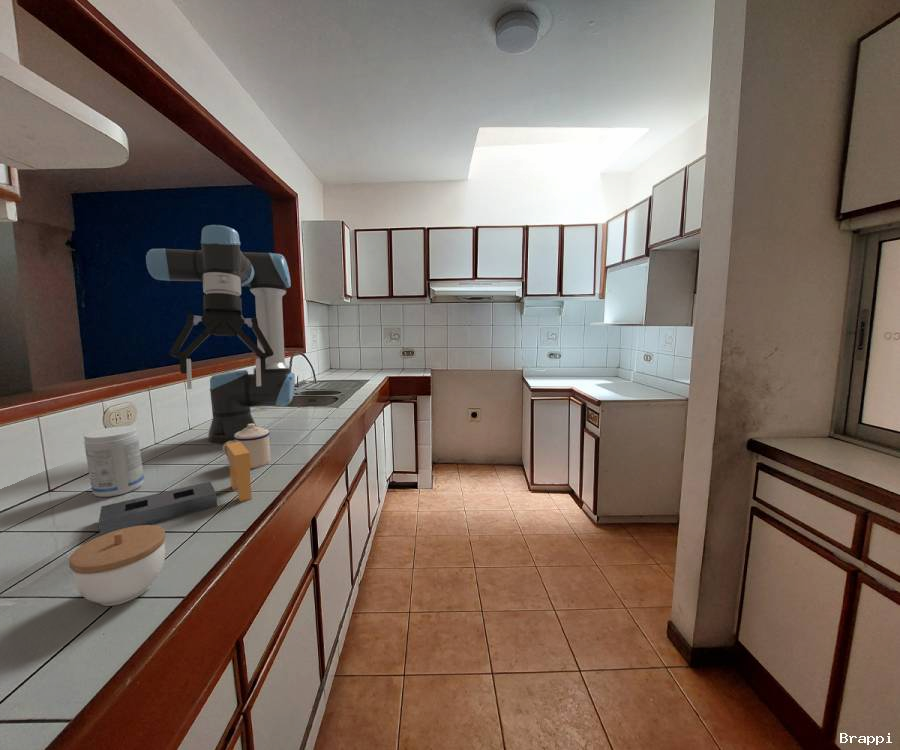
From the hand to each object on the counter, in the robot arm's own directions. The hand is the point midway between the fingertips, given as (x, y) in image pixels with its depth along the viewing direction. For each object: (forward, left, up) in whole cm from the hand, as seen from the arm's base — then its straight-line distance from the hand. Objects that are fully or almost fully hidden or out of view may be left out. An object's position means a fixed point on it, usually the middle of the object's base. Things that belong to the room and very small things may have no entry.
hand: (225, 387), depth 86 cm
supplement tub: (-20, -21, -26) cm, 39 cm away
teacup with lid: (-18, +7, -26) cm, 32 cm away
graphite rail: (+1, -14, -25) cm, 29 cm away
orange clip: (+1, +1, -25) cm, 25 cm away
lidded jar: (+27, -19, -26) cm, 42 cm away
